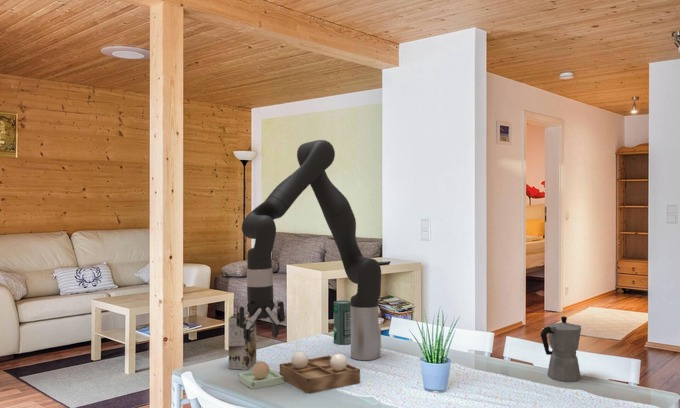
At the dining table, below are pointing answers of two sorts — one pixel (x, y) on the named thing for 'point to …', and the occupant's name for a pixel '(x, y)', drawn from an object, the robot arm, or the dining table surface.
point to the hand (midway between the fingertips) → (261, 339)
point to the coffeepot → (562, 350)
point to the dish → (255, 383)
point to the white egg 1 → (299, 360)
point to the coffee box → (241, 345)
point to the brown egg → (260, 370)
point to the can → (342, 322)
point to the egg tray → (319, 375)
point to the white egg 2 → (338, 362)
